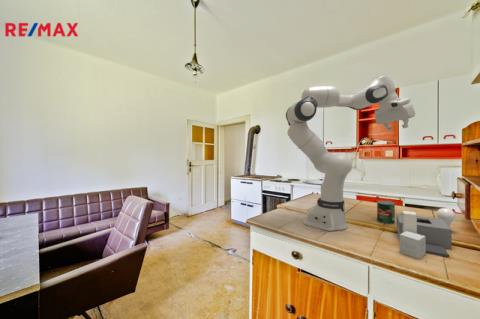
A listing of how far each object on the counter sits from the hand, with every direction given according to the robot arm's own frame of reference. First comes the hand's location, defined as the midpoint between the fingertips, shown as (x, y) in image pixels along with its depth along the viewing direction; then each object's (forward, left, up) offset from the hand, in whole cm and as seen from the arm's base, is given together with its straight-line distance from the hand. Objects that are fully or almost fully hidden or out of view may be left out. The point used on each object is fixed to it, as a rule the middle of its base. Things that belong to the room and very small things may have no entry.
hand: (397, 129), depth 104 cm
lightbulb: (+17, -5, -51) cm, 54 cm away
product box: (+1, -38, -51) cm, 64 cm away
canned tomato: (-6, -4, -51) cm, 52 cm away
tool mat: (+8, -32, -51) cm, 61 cm away
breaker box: (+6, -20, -51) cm, 55 cm away
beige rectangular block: (+1, -31, -51) cm, 60 cm away
